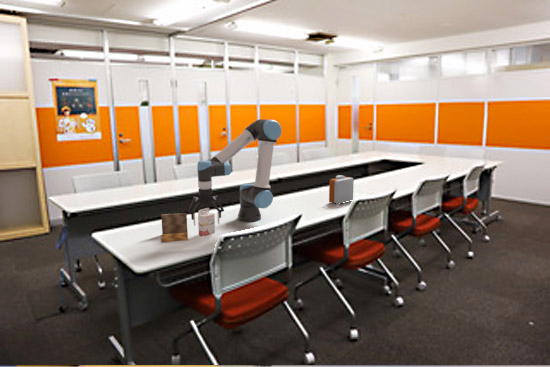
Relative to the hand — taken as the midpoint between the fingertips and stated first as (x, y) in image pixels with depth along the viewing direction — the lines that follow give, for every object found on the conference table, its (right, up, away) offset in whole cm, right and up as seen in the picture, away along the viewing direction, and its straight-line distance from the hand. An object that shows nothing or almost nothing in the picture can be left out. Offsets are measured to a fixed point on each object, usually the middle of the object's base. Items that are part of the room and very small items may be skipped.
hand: (206, 224), depth 225 cm
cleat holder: (-17, -7, -5) cm, 19 cm away
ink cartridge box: (0, -6, +1) cm, 6 cm away
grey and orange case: (+90, +9, +73) cm, 116 cm away
